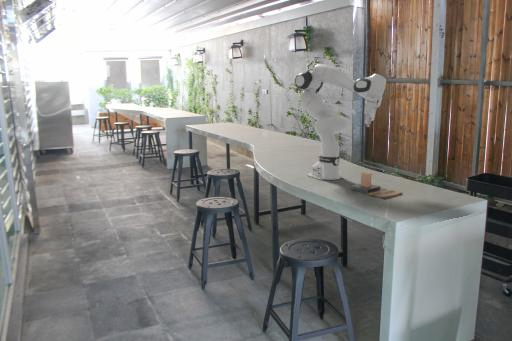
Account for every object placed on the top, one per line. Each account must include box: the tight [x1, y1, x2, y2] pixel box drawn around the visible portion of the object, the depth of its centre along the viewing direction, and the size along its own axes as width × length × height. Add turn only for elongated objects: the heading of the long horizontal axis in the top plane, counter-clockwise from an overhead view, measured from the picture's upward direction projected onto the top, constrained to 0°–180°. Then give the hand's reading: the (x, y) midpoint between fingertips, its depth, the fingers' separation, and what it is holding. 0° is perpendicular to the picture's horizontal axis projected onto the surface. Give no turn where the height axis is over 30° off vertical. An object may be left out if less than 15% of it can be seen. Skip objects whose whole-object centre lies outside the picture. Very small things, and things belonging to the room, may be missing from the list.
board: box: [367, 188, 403, 200], centre depth 252 cm, size 11×16×1 cm
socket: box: [350, 183, 381, 195], centre depth 261 cm, size 11×11×2 cm
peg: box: [360, 171, 372, 188], centre depth 261 cm, size 4×4×10 cm
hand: (366, 125), depth 266 cm, fingers open, 8 cm apart
